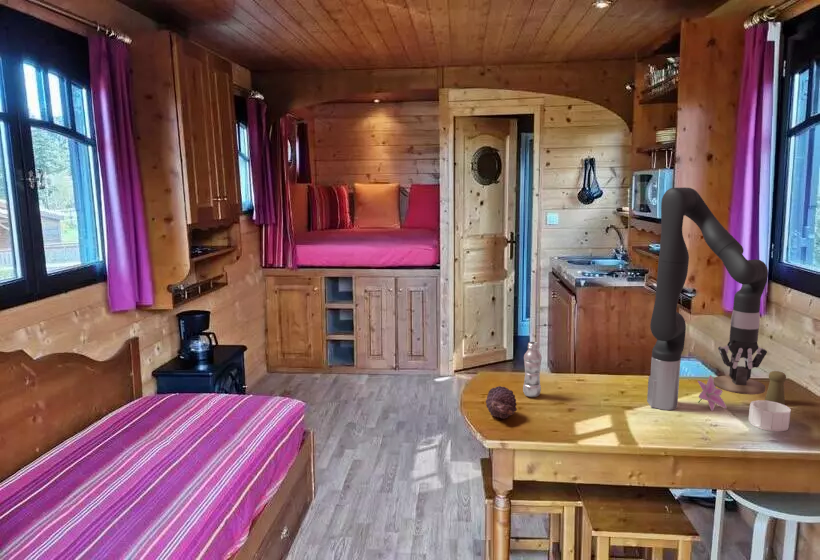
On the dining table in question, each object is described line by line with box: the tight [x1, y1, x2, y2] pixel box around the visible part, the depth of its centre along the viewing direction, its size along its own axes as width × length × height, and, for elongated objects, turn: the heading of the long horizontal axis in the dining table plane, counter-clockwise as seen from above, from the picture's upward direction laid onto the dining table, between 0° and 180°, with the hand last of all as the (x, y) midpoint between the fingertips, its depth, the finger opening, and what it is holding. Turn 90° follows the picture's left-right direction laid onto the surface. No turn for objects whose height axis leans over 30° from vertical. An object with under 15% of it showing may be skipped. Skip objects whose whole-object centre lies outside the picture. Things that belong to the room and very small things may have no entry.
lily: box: [697, 375, 727, 412], centre depth 207 cm, size 12×12×10 cm
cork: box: [764, 370, 787, 405], centre depth 210 cm, size 6×6×11 cm
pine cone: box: [485, 385, 518, 420], centre depth 199 cm, size 18×10×10 cm, turn 6°
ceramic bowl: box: [748, 399, 792, 433], centre depth 191 cm, size 11×11×6 cm
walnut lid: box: [713, 365, 766, 395], centre depth 184 cm, size 14×14×6 cm
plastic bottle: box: [522, 341, 543, 398], centre depth 216 cm, size 6×7×20 cm
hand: (739, 379), depth 184 cm, fingers closed on walnut lid, 3 cm apart
